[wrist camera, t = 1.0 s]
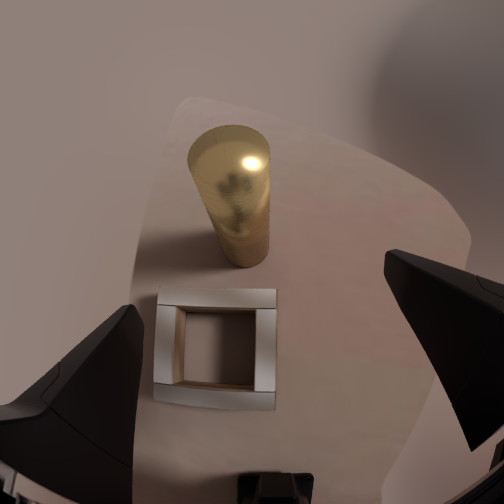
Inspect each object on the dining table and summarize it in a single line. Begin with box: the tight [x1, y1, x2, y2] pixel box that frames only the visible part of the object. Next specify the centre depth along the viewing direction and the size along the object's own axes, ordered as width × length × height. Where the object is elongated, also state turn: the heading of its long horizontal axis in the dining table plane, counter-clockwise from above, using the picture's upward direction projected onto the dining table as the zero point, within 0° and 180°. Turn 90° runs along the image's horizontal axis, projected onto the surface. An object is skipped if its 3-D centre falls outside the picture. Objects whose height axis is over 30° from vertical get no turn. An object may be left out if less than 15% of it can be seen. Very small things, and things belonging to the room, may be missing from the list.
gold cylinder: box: [187, 125, 270, 267], centre depth 18 cm, size 4×4×12 cm
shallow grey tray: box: [153, 286, 277, 411], centre depth 20 cm, size 9×9×3 cm
